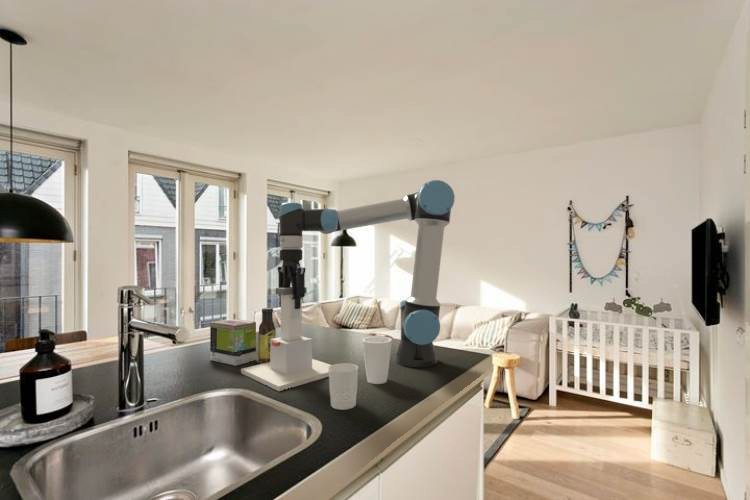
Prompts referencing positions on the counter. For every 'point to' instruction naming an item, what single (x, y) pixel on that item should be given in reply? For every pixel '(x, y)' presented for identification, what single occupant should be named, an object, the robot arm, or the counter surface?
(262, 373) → the post stand
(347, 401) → the white cup
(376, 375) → the foam cup
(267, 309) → the sauce bottle
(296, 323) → the post
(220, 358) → the tea box
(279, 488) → the counter surface
